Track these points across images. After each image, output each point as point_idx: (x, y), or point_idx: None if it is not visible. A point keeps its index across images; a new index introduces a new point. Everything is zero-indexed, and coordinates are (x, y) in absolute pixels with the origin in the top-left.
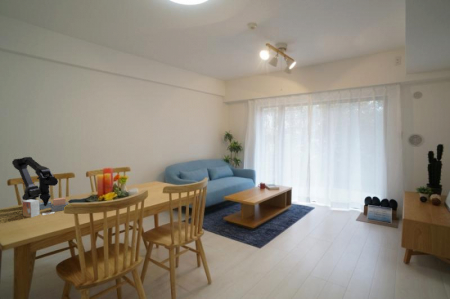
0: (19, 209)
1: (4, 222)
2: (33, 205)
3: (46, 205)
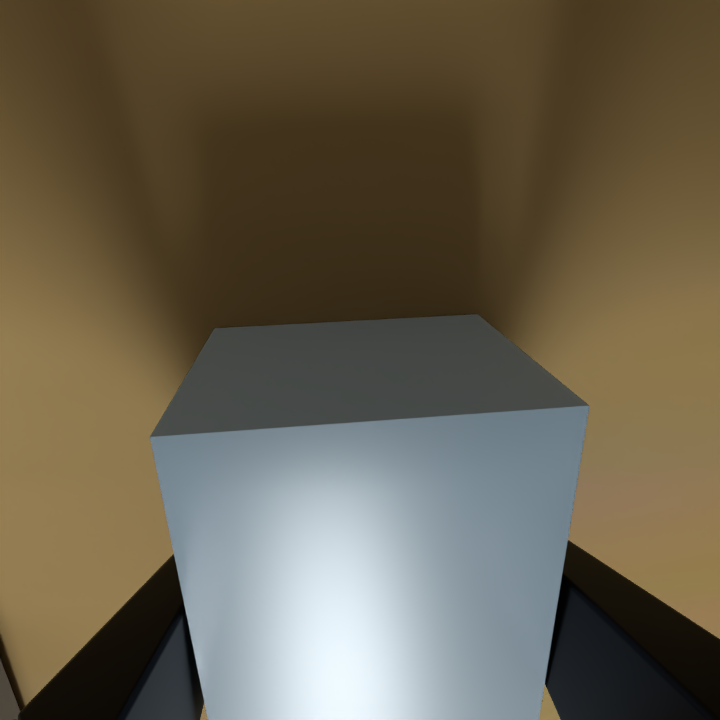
0: None
1: None
2: None
3: None
